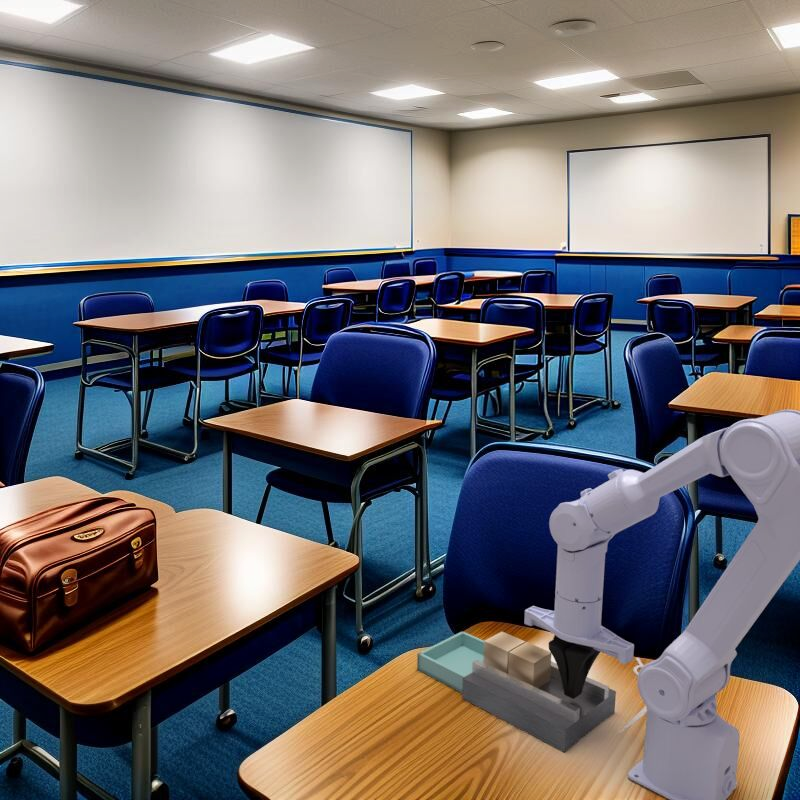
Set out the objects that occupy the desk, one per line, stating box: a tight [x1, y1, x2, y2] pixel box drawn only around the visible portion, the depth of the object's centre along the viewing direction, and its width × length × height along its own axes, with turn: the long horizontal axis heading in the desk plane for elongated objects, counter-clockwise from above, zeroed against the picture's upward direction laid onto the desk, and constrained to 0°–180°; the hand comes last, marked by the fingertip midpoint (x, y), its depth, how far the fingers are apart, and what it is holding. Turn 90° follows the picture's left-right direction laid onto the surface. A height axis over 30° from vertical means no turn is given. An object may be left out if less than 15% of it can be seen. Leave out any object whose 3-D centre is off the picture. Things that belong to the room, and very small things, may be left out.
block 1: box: [483, 631, 526, 674], centre depth 102 cm, size 4×4×4 cm
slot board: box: [461, 660, 617, 753], centre depth 98 cm, size 16×12×4 cm
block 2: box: [508, 641, 552, 688], centre depth 99 cm, size 4×4×4 cm
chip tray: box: [416, 631, 485, 694], centre depth 107 cm, size 9×10×2 cm
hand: (573, 694), depth 94 cm, fingers closed
